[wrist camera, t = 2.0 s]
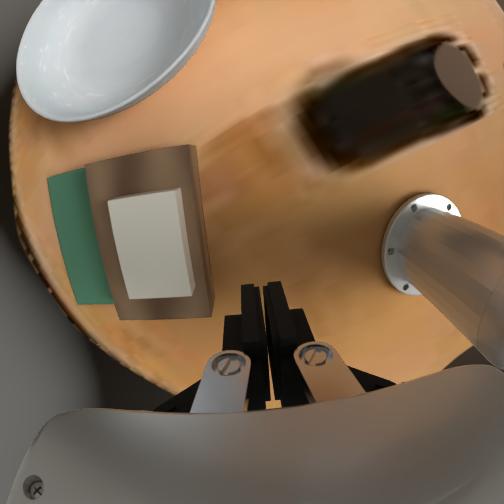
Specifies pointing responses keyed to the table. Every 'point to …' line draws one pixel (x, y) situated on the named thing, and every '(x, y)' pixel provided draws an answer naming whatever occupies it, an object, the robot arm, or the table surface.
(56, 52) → the serving bowl
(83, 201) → the mat
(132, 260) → the light grey flat block
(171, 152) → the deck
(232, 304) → the table surface
